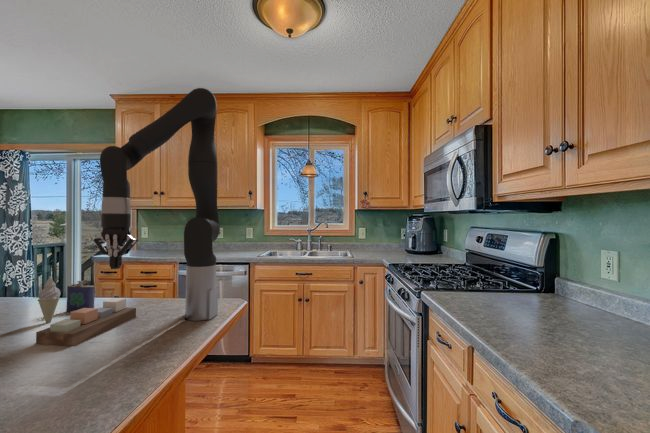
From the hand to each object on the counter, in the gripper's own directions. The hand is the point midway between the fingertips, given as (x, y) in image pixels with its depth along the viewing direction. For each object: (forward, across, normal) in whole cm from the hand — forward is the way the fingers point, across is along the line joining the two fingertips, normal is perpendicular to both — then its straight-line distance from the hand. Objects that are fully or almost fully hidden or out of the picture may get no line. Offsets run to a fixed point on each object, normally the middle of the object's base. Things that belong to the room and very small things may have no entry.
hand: (115, 268), depth 95 cm
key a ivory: (+13, 0, 0) cm, 13 cm away
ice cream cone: (+17, +17, +4) cm, 25 cm away
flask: (+17, +20, -10) cm, 28 cm away
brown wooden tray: (+17, 0, +8) cm, 19 cm away
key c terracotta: (+13, 0, +11) cm, 17 cm away
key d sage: (+14, 0, +16) cm, 22 cm away
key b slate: (+14, 0, +5) cm, 15 cm away
